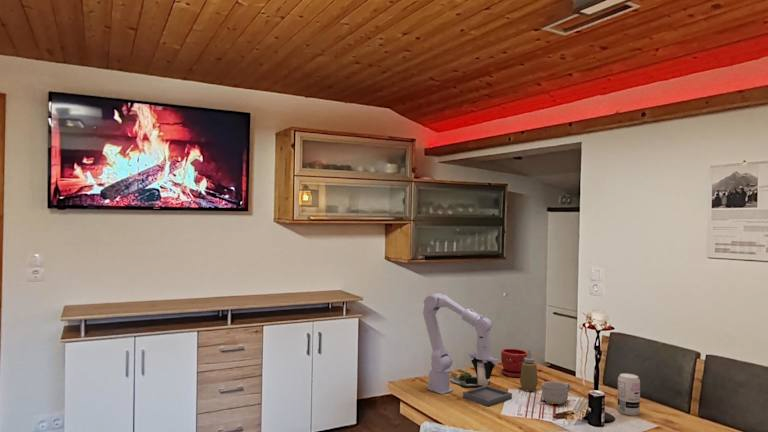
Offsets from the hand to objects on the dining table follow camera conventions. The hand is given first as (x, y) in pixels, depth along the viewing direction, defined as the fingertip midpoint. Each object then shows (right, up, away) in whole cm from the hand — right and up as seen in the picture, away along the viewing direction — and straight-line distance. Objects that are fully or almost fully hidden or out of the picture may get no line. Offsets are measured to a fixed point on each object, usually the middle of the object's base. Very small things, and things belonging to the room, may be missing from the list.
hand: (483, 377), depth 233 cm
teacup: (+32, -10, -3) cm, 33 cm away
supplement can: (+57, -10, -14) cm, 59 cm away
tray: (+2, -10, +1) cm, 10 cm away
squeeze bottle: (+24, -10, +14) cm, 29 cm away
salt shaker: (0, -3, 0) cm, 3 cm away
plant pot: (+23, -10, +38) cm, 46 cm away
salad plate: (-2, -10, +24) cm, 26 cm away
